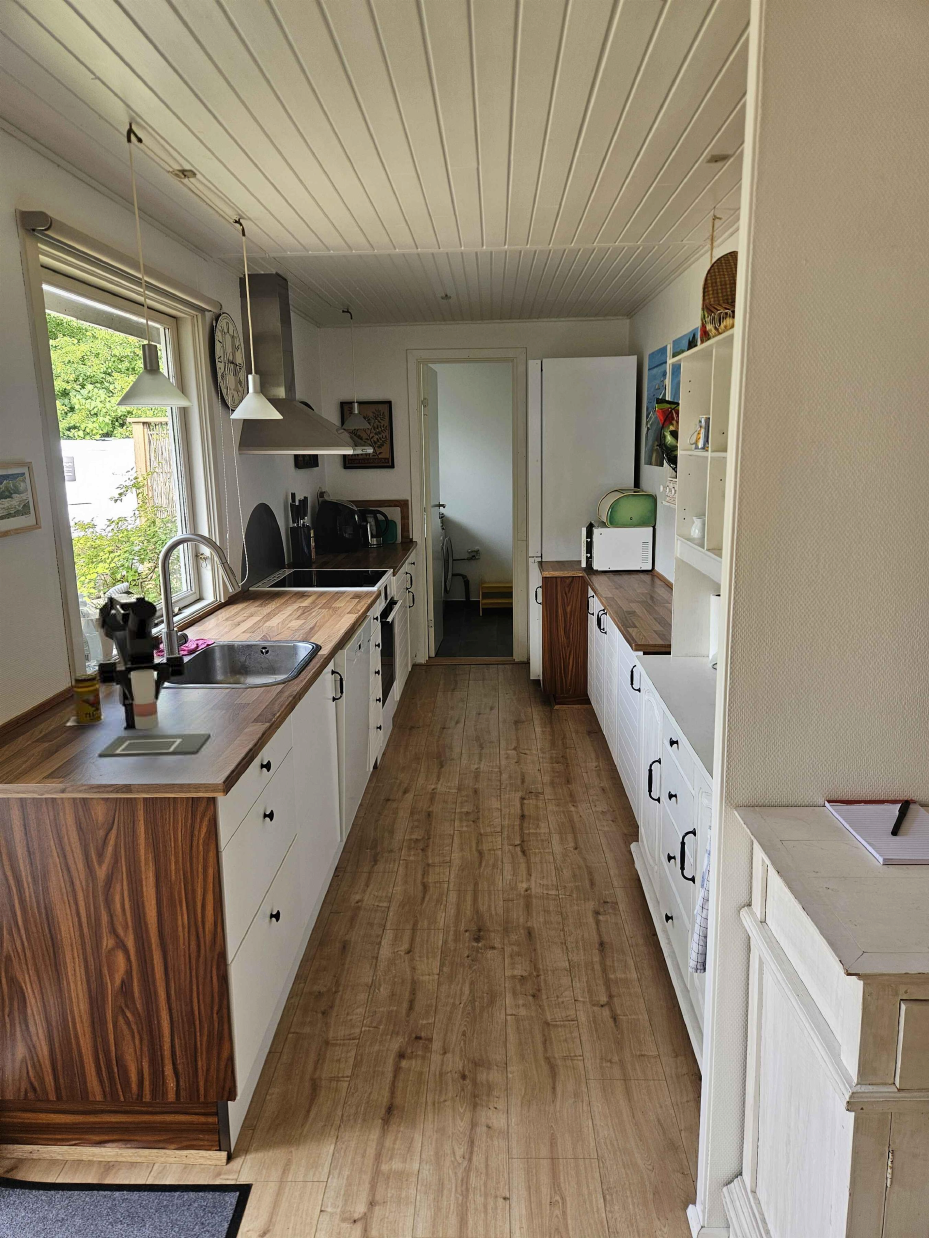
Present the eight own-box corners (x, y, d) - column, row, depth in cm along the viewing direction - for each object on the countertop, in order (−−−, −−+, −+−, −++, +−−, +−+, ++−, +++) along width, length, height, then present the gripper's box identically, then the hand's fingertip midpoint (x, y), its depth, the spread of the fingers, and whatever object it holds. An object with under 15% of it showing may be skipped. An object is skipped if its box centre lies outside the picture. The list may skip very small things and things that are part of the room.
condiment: (100, 723, 215) (96, 678, 213) (65, 726, 214) (60, 681, 211) (105, 715, 222) (101, 672, 220) (71, 718, 221) (67, 674, 218)
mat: (98, 756, 190) (97, 753, 190) (118, 738, 203) (118, 735, 203) (196, 753, 191) (195, 750, 191) (210, 735, 204) (210, 732, 204)
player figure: (132, 729, 191) (127, 674, 189) (139, 722, 196) (134, 669, 194) (154, 729, 192) (149, 674, 189) (161, 722, 197) (157, 668, 194)
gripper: (94, 628, 190) (97, 686, 182) (180, 621, 197) (186, 677, 189) (99, 654, 199) (101, 711, 191) (181, 647, 205) (187, 702, 197)
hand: (144, 700), depth 192 cm, fingers closed on player figure, 5 cm apart
